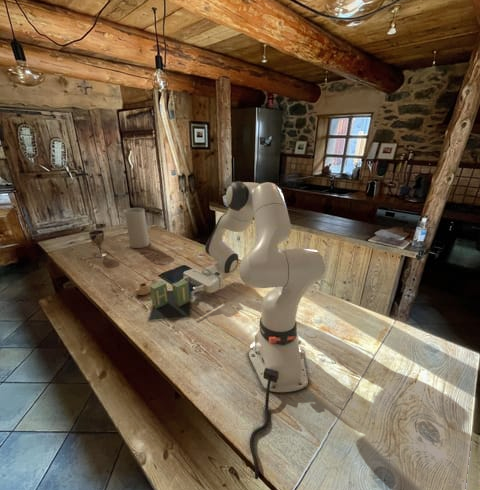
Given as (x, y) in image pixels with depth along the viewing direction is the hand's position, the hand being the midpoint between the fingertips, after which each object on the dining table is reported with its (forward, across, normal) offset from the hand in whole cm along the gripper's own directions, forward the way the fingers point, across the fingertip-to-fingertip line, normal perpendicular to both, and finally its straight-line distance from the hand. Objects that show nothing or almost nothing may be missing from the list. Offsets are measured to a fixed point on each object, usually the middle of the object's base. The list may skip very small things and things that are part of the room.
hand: (187, 286), depth 120 cm
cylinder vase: (-19, -80, +8) cm, 83 cm away
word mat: (+7, -3, +8) cm, 11 cm away
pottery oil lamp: (+9, -20, +8) cm, 24 cm away
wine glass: (+6, -83, +8) cm, 84 cm away
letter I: (+3, 0, +7) cm, 8 cm away
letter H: (+11, -6, +7) cm, 14 cm away
